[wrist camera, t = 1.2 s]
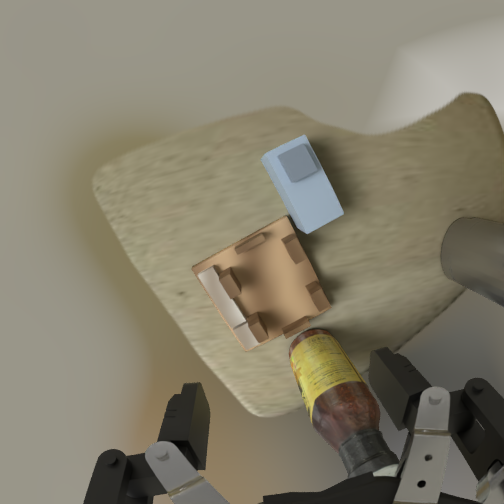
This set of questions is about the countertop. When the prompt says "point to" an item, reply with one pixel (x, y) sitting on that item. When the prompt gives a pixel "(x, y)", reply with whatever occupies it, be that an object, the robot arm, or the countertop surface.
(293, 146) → the light blue block
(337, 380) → the sauce bottle
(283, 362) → the countertop surface
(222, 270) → the jig
